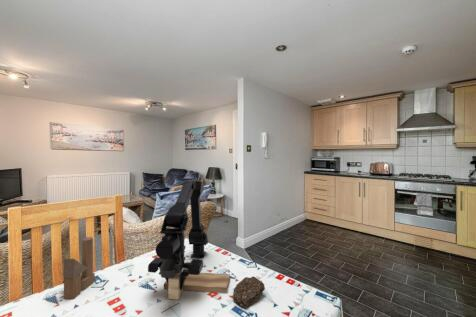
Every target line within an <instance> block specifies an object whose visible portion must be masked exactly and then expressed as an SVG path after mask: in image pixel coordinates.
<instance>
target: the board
mask: <svg viewBox="0 0 476 317" xmlns="http://www.w3.org/2000/svg"><path fill="white" fill-rule="evenodd" d="M230 281H231V274H230V273H229V274H228V273H215V272H214V273H211V272H200V274H199V275H190V274H189V275H188V276H187V277H186V280H185V283H184V285H183V291H185V292H187V291H188V292H200V293H201V292H203V293H206V292H207V293H214V294H215V293H217V294H227V293H228V288H229V285H230ZM163 290H168V284H167V281H166V280H165V281H164V283H163Z"/></svg>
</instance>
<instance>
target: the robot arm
mask: <svg viewBox="0 0 476 317" xmlns="http://www.w3.org/2000/svg"><path fill="white" fill-rule="evenodd" d="M204 188H205V183H204V182H203V181H202V180H201V179H200V180H199V179H195V180H194V179H187V180H183V181H182V187H181V189H180V191H179V194H178V197H177V199H176V201H175V204H174V205H172V206H170V208H169V209H168V211H167V212H166V214H165V215H164V218H163V222H162V226H161V229H160V234H163V236H162V237H161V240H160V241H159V242H158V243H157V245H156V247H155V254H156V257H155V258H154V259H153V260H151V261H150V262H149V263H148V265H147V272H148V273H157V272H158V271H159V272H158V275H159V276H160V277H161V278H162V279H164V278H165V282H166V281H167V284H168V279H169V278H174V277H175V275H176V274H177V273H181V274H180V277H181V280H180V290H182V288H183V285H184V283H185V280H186V277H187V276H188V275H189V274H190V275H199V274H200V273H202V271H203V268H204V260H202V259H204V257H205V255H206V254H207V251H205V246H206V245H208V243H209V237H208V235H207V232H206V228H205V226H204V224H202V210H201V195H202V194H203V191H204ZM189 204H190V212H191V213H190V214H191V215H190V217H191V228H190V229H189V232H188V245H192V254H191V255H190V259H191V258H192V260H191V261H186V256H185V249H186V245H185V231H187V228H188V224H189V220H190V218H189V215H188V212H187V211H188V208H189ZM157 256H158V257H157ZM185 261H186V262H185Z"/></svg>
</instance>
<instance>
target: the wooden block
mask: <svg viewBox="0 0 476 317" xmlns="http://www.w3.org/2000/svg"><path fill="white" fill-rule="evenodd" d="M93 265H94V238H93V236H87V237H84V238H82V239H81V262H80V261H78V260H77V259H75V258H63V299H64V300H73V299H75V298H76V297H78V296H79V295H80V294H81V292H82V291H83V290H86V289H87V288H89V287H90V286H91V285H92V284H93V283H95V280H96V279H95V278H96V277H95V275H96V274H95V272H94V266H93Z"/></svg>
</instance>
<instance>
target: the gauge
mask: <svg viewBox="0 0 476 317" xmlns="http://www.w3.org/2000/svg"><path fill="white" fill-rule="evenodd" d="M180 274H181V273H177V274H176V275H175V277H174V278H169V279H168V289H167V291H168V292H167V293H168V294H167V295H168V300H179V299H180V298H181V296H182V293H183V291H184V290H183V288H182V290H180V280H181V277H180Z"/></svg>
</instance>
